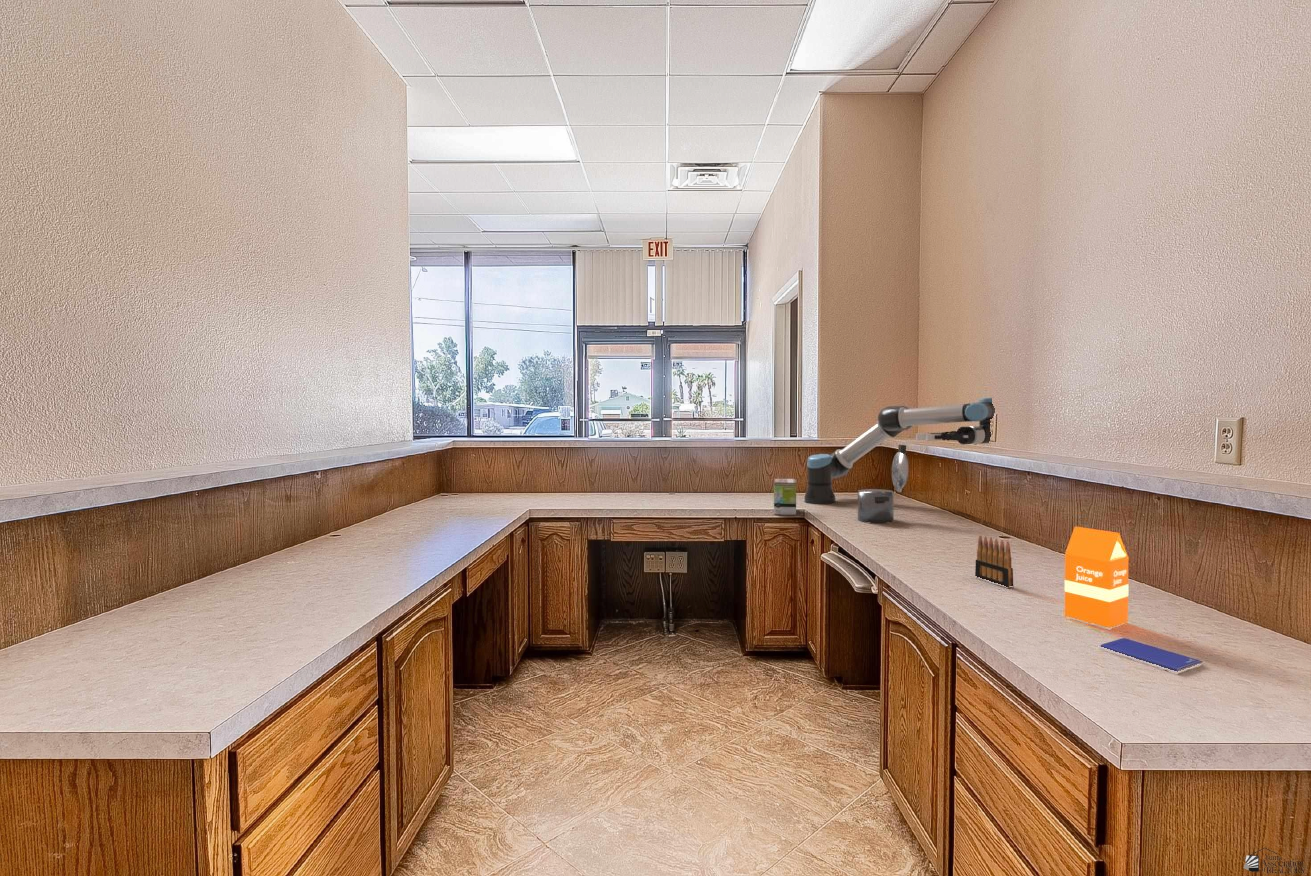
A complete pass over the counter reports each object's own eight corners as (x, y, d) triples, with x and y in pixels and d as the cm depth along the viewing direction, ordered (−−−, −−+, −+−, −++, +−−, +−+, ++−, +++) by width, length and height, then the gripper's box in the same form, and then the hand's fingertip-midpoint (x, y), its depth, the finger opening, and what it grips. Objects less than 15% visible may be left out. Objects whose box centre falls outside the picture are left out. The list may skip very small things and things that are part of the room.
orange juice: (1083, 611, 136) (1083, 524, 135) (1128, 623, 128) (1129, 530, 127) (1063, 618, 132) (1064, 528, 131) (1109, 630, 124) (1110, 535, 124)
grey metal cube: (852, 516, 259) (852, 488, 258) (885, 515, 258) (885, 488, 257) (865, 524, 241) (864, 494, 240) (900, 523, 240) (900, 494, 240)
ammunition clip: (974, 577, 164) (974, 534, 164) (980, 577, 165) (980, 533, 164) (1008, 588, 154) (1008, 542, 154) (1013, 587, 155) (1013, 541, 154)
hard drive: (1202, 659, 107) (1125, 636, 119) (1177, 668, 104) (1099, 644, 115) (1202, 668, 107) (1125, 644, 119) (1177, 677, 104) (1099, 652, 115)
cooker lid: (893, 443, 255) (901, 444, 255) (890, 488, 256) (897, 489, 256) (906, 446, 240) (914, 446, 240) (902, 493, 241) (910, 494, 241)
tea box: (797, 515, 266) (796, 481, 265) (773, 514, 268) (773, 482, 267) (795, 509, 280) (795, 477, 280) (774, 509, 282) (773, 478, 282)
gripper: (986, 445, 244) (936, 447, 239) (953, 443, 263) (907, 445, 258) (986, 426, 244) (936, 428, 239) (953, 425, 263) (907, 427, 258)
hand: (921, 437), depth 249 cm, fingers open, 6 cm apart
